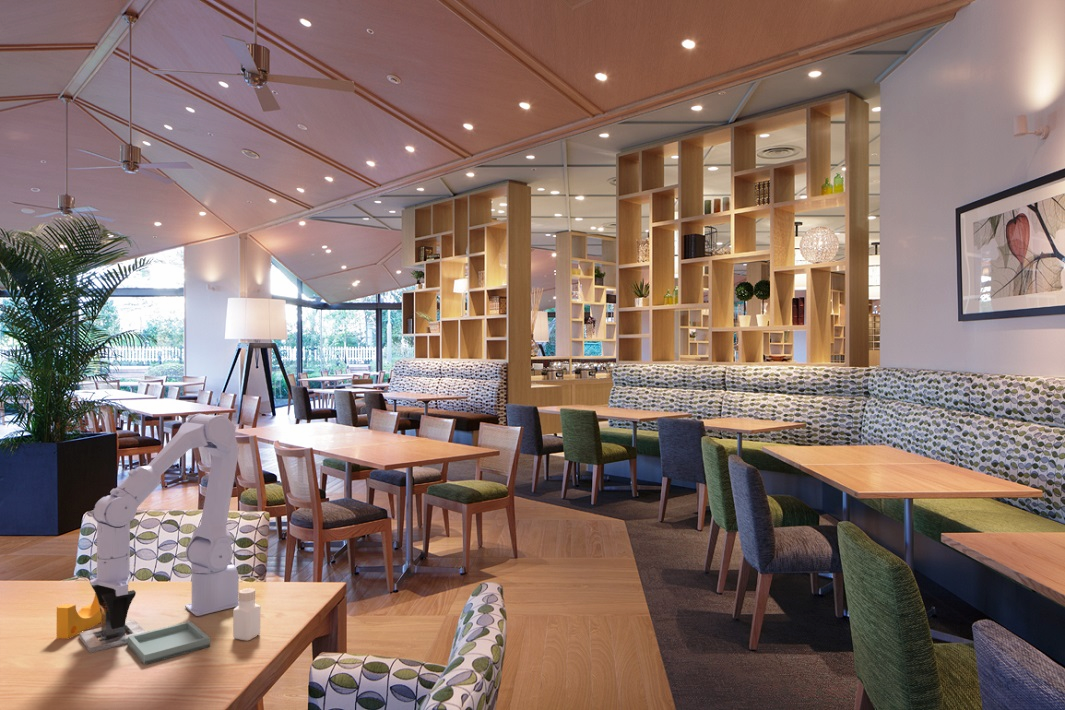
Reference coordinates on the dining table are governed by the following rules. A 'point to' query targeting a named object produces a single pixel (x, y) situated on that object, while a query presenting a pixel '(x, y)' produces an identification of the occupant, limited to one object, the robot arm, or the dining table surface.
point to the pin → (108, 625)
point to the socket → (96, 645)
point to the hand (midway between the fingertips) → (112, 622)
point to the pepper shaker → (246, 616)
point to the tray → (168, 642)
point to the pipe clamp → (77, 618)
